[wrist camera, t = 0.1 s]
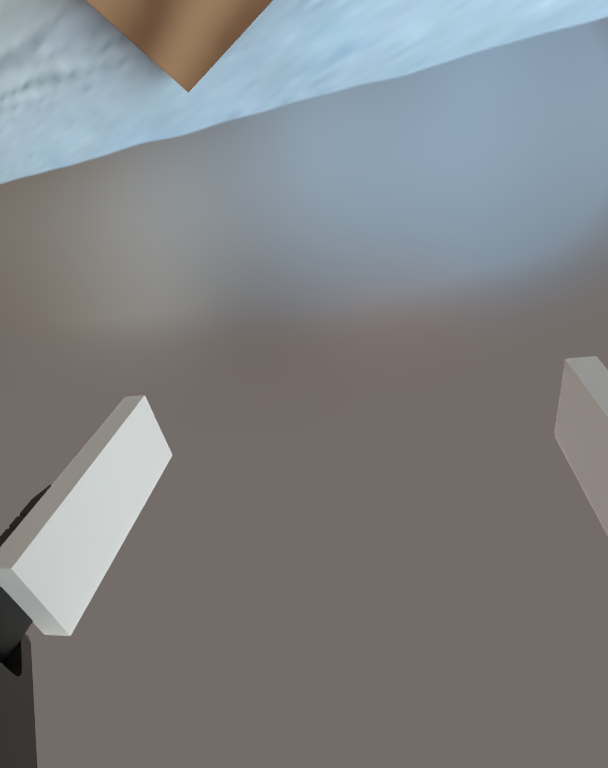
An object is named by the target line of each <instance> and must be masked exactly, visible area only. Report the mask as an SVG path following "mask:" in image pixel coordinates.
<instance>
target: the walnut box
mask: <svg viewBox="0 0 608 768" xmlns="http://www.w3.org/2000/svg"><path fill="white" fill-rule="evenodd" d="M86 1H87V2H88V3H89V4H90V5H92V6H93V7H94V8H95V9H96V10H97V11H98V12H99V13H101V14H102V15H103V16H104V17H105V18H106V19H107V20H108V21H109V22H111V23H112V24H113V25H114V26H115V27H116V28H117V29H118V30H119V31H121V32H122V33H123V34H124V35H125V36H126V37H127V38H128V39H129V40H131V41H132V42H133V43H134V44H135V45H136V46H137V47H138V48H139V49H141V50H142V51H143V52H144V53H145V54H146V55H147V56H148V57H150V58H151V59H152V60H153V61H154V62H155V63H156V64H157V65H158V66H160V67H161V68H162V69H163V70H164V71H165V72H166V73H167V74H168V75H170V76H171V77H172V78H173V79H174V80H175V81H176V82H177V83H178V84H180V85H181V86H182V87H183V88H184V89H185V90H186V91H187V92H189V91H190V90H191V89H192V88H193V87H194V86H195V85H196V84H197V83H198V81H199V80H200V79H201V78H202V77H203V76H204V75H205V74H206V73H207V72H208V71H209V69H210V68H211V67H212V66H213V65H214V64H215V63H216V62H217V61H218V60H219V59H220V57H221V56H222V55H223V54H224V53H225V52H226V51H227V50H228V49H229V48H230V47H231V45H232V44H233V43H234V42H235V41H236V40H237V39H238V38H239V37H240V36H241V34H242V33H243V32H244V31H245V30H246V29H247V28H248V27H249V26H250V25H251V24H252V22H253V21H254V20H255V19H256V18H257V17H258V16H259V15H260V14H261V13H262V12H263V10H264V9H265V8H266V7H267V6H268V5H269V4H270V3H271V2H272V1H273V0H86Z"/></svg>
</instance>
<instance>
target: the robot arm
mask: <svg viewBox="0 0 608 768" xmlns="http://www.w3.org/2000/svg"><path fill="white" fill-rule="evenodd" d="M554 436H555V438H556V440H557V442H558V443H559V445H560V447H561V449H562V451H563V453H564V455H565V457H566V459H567V461H568V462H569V464H570V466H571V468H572V470H573V472H574V474H575V476H576V477H577V479H578V481H579V483H580V485H581V487H582V489H583V491H584V493H585V494H586V497H587V498H588V500H589V502H590V504H591V506H592V507H593V510H594V512H595V513H596V515H597V517H598V519H599V521H600V523H601V525H602V527H603V529H604V530H605V532H606V534H607V536H608V370H607V369H606V367H605V366H604V365H603V364H602V363H601V362H600V360H599V359H598V358H597V357H596V356H593V357H581V358H570V359H565V365H564V371H563V378H562V385H561V391H560V398H559V406H558V412H557V418H556V425H555V432H554ZM171 457H172V454H171V451H170V449H169V447H168V445H167V443H166V440H165V438H164V436H163V434H162V432H161V430H160V427H159V425H158V423H157V421H156V419H155V416H154V414H153V412H152V410H151V408H150V406H149V404H148V401H147V399H146V397H145V395H142V396H131V397H125V398H124V399H123V400H122V401H121V402H120V404H119V405H118V406H117V407H116V408H115V410H114V411H113V412H112V413H111V415H110V416H109V417H108V418H107V419H106V421H105V422H104V423H103V424H102V425H101V427H100V428H99V429H98V430H97V431H96V433H95V434H94V435H93V436H92V437H91V439H90V440H89V441H88V442H87V443H86V445H85V446H84V447H83V448H82V449H81V451H80V452H79V453H78V454H77V455H76V457H75V458H74V459H73V460H72V461H71V463H70V464H69V465H68V466H67V467H66V469H65V470H64V471H63V472H62V473H61V475H60V476H59V477H58V478H57V480H56V481H55V482H54V483H53V484H52V485H49V486H48V487H47V488H46V489H44V490H43V491H42V492H40V493H39V494H38V495H37V496H35V497H34V498H33V499H32V500H31V501H30V502H29V503H28V505H27V506H26V507H25V508H24V509H23V510H22V512H21V513H20V516H19V517H17V518H16V519H15V520H14V521H13V522H12V523H11V524H10V528H9V529H6V530H5V532H4V533H3V534H2V535H1V536H0V768H37V756H36V737H35V717H34V698H33V680H32V679H33V678H32V659H31V643H30V640H29V637H28V636H27V635H26V634H25V632H26V631H27V629H28V628H29V626H30V625H31V623H32V622H33V623H34V624H35V625H36V626H37V627H38V628H39V629H40V630H41V631H42V632H43V633H44V634H45V635H65V636H70V635H71V634H72V632H73V630H74V628H75V627H76V625H77V623H78V621H79V620H80V618H81V616H82V614H83V613H84V611H85V609H86V607H87V605H88V604H89V602H90V600H91V598H92V597H93V595H94V593H95V591H96V589H97V588H98V586H99V584H100V582H101V580H102V579H103V577H104V575H105V573H106V572H107V570H108V568H109V566H110V565H111V563H112V561H113V559H114V558H115V556H116V554H117V552H118V550H119V549H120V547H121V545H122V543H123V542H124V540H125V538H126V536H127V535H128V533H129V531H130V529H131V527H132V526H133V524H134V522H135V520H136V519H137V517H138V515H139V513H140V512H141V510H142V508H143V506H144V504H145V503H146V501H147V499H148V497H149V495H150V494H151V492H152V490H153V488H154V487H155V485H156V483H157V481H158V480H159V478H160V476H161V474H162V473H163V471H164V469H165V467H166V465H167V464H168V462H169V460H170V458H171Z"/></svg>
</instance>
